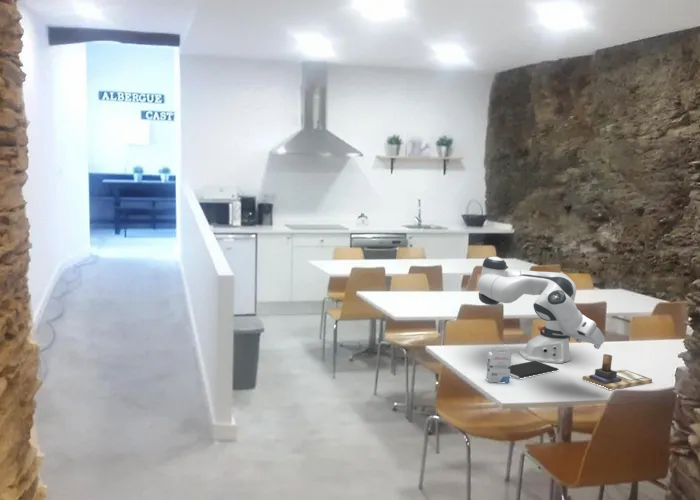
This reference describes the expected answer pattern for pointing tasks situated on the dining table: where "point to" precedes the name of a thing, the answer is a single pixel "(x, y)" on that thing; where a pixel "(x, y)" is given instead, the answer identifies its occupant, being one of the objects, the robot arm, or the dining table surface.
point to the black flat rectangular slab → (530, 369)
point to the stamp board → (619, 380)
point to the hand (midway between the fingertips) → (588, 344)
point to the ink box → (499, 365)
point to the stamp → (606, 368)
